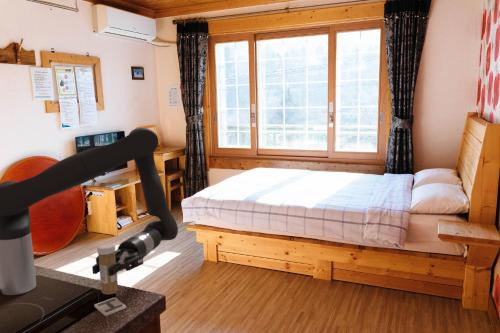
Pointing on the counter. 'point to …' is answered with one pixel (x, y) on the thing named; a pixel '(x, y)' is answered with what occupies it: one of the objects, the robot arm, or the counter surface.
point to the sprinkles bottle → (107, 267)
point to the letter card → (110, 306)
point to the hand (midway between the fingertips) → (101, 271)
